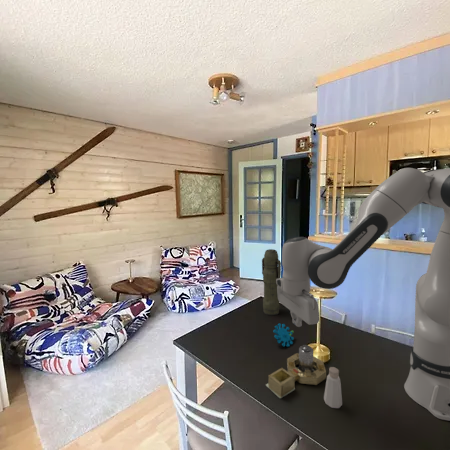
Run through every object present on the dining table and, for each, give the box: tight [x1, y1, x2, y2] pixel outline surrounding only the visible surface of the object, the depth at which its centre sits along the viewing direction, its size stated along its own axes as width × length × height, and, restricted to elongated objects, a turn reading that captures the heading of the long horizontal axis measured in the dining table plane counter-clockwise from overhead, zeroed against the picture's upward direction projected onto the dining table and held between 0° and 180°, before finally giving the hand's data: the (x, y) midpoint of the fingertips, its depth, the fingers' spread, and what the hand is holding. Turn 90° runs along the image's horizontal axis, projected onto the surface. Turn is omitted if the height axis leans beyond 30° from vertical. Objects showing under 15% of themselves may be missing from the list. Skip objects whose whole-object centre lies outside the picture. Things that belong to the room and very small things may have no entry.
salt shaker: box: [323, 366, 343, 409], centre depth 80 cm, size 5×5×11 cm
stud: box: [296, 344, 315, 373], centre depth 93 cm, size 7×7×10 cm
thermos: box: [261, 248, 282, 316], centre depth 141 cm, size 9×12×35 cm
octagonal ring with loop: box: [267, 352, 327, 398], centre depth 91 cm, size 23×13×4 cm, turn 125°
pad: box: [265, 381, 296, 399], centre depth 87 cm, size 7×7×1 cm
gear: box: [272, 323, 295, 348], centre depth 114 cm, size 11×6×10 cm
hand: (297, 324), depth 87 cm, fingers closed
